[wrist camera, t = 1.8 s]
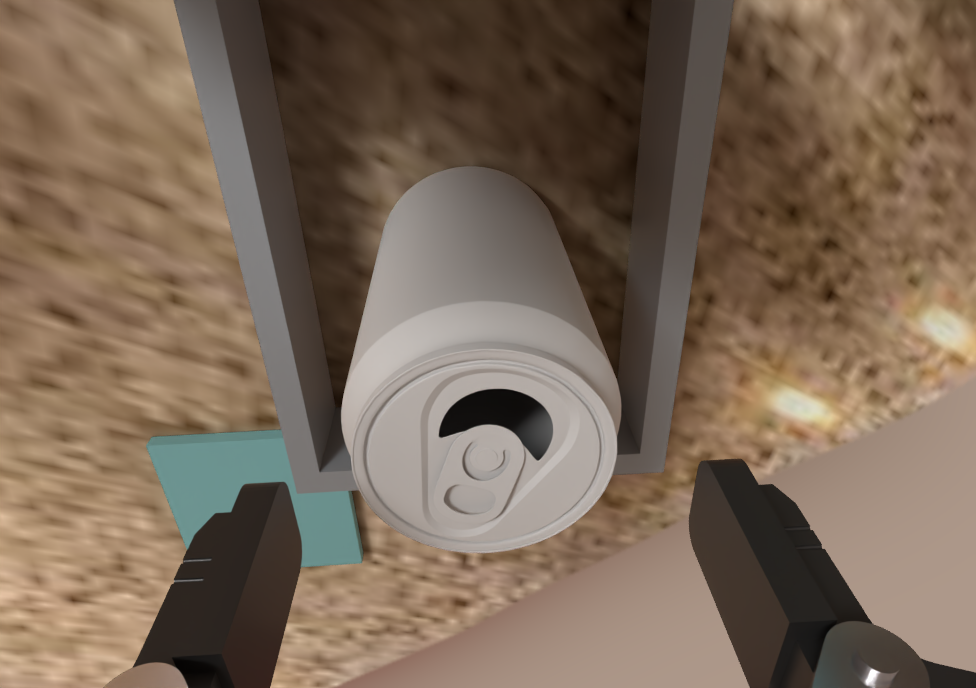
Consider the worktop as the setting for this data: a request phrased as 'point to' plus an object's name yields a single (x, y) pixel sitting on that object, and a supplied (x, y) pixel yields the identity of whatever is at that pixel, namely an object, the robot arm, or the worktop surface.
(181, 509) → the pad
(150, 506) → the worktop surface
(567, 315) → the beverage can
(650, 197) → the case
